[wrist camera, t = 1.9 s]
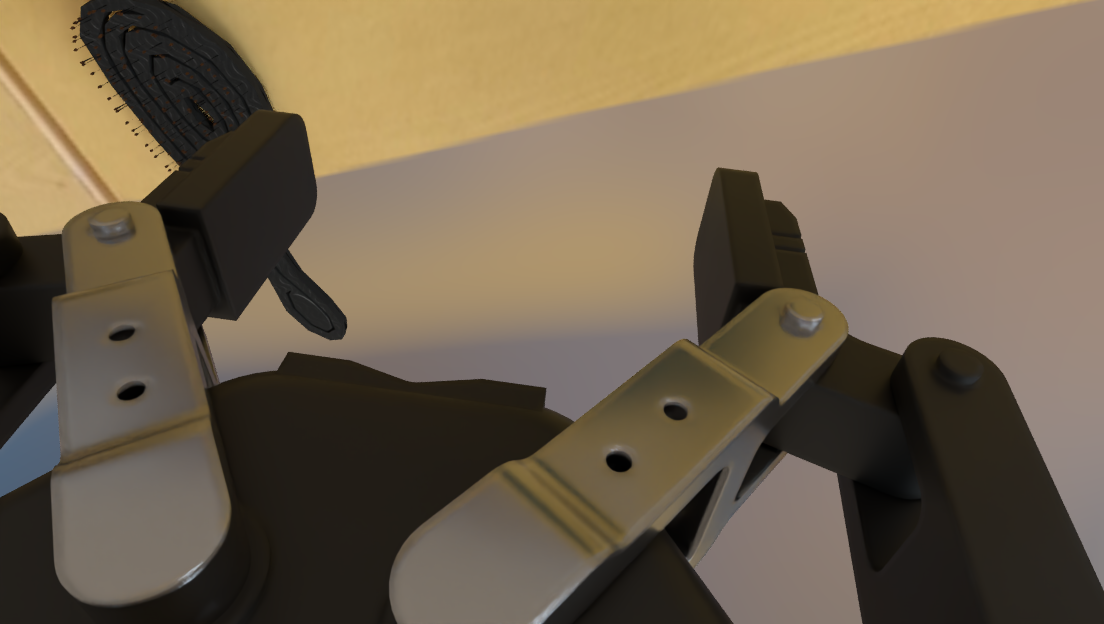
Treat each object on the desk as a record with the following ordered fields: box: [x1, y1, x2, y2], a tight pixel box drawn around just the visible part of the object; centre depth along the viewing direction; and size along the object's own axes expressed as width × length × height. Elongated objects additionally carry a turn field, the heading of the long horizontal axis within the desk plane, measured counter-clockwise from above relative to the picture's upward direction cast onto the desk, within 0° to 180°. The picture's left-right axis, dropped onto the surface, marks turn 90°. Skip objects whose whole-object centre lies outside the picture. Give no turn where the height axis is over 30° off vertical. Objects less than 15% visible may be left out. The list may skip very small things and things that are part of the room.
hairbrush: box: [70, 0, 347, 340], centre depth 41 cm, size 8×4×25 cm
